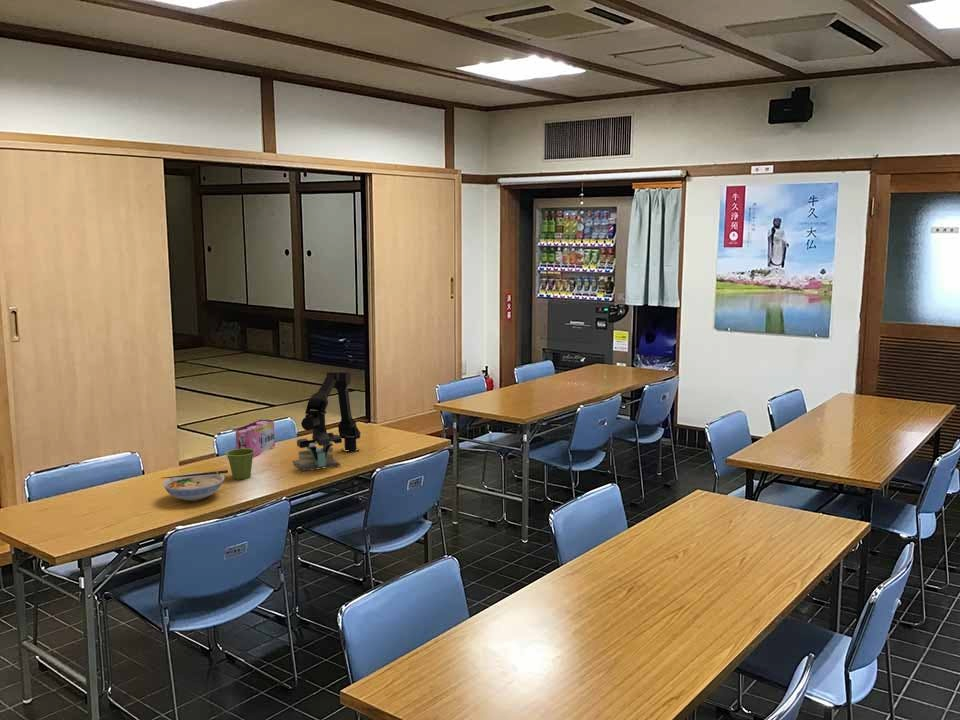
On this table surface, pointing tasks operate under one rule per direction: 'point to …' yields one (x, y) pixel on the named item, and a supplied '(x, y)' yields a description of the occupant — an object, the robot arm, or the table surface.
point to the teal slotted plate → (319, 457)
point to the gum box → (256, 436)
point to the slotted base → (313, 466)
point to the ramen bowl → (194, 485)
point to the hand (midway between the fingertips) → (320, 460)
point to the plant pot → (240, 462)
